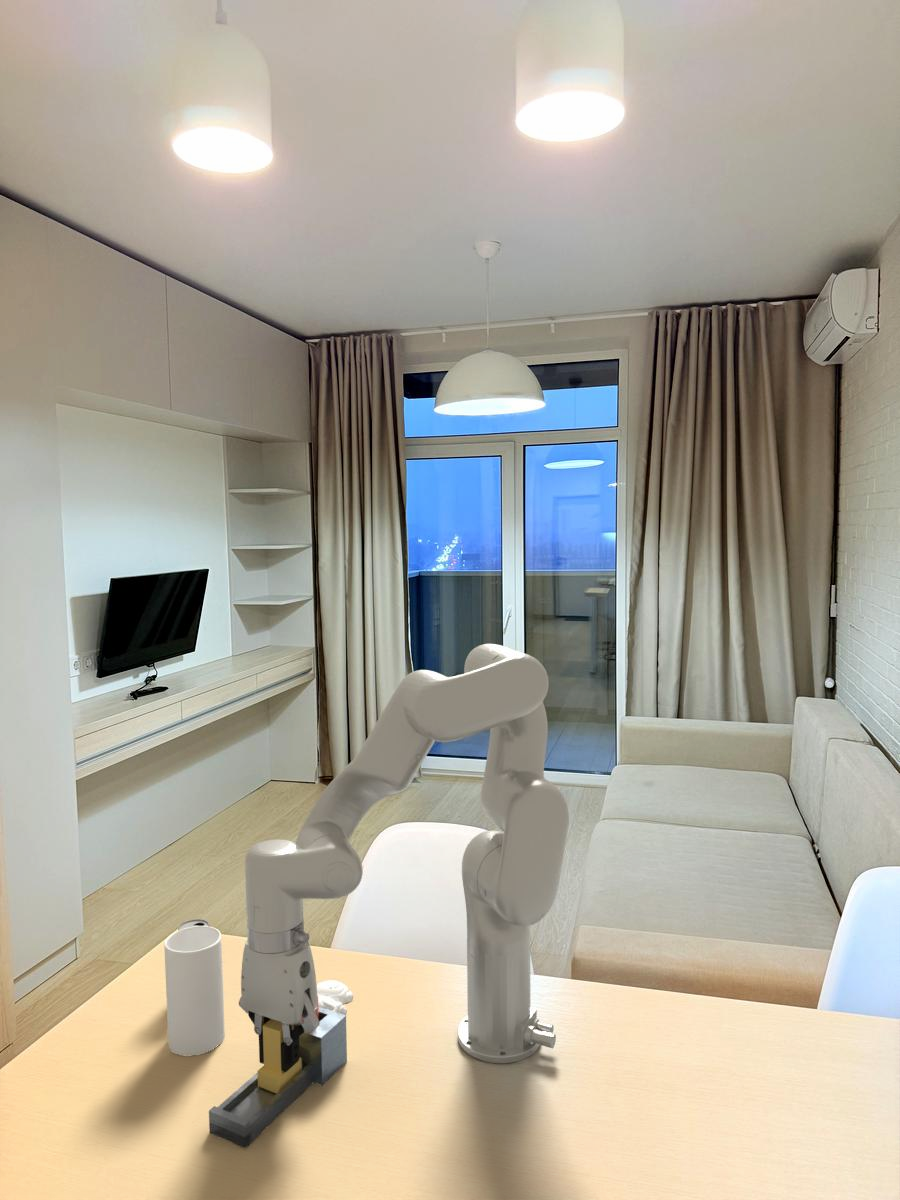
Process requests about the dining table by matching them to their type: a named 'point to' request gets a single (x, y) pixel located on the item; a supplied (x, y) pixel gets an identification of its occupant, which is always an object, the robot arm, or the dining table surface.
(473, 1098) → the dining table surface
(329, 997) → the astronaut figurine
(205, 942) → the cup
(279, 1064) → the block
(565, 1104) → the dining table surface
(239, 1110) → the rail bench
